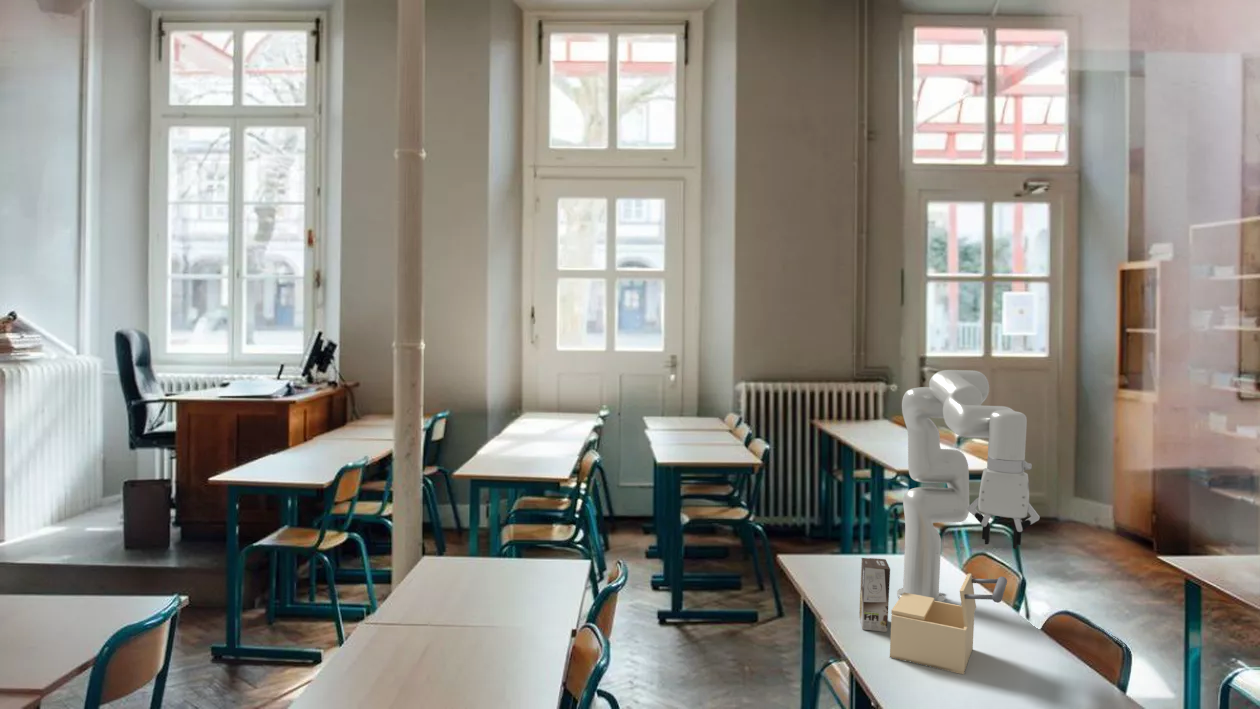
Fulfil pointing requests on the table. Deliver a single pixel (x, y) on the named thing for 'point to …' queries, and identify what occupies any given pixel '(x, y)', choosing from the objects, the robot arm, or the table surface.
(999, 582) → the flap
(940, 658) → the carton
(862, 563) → the coffee box
